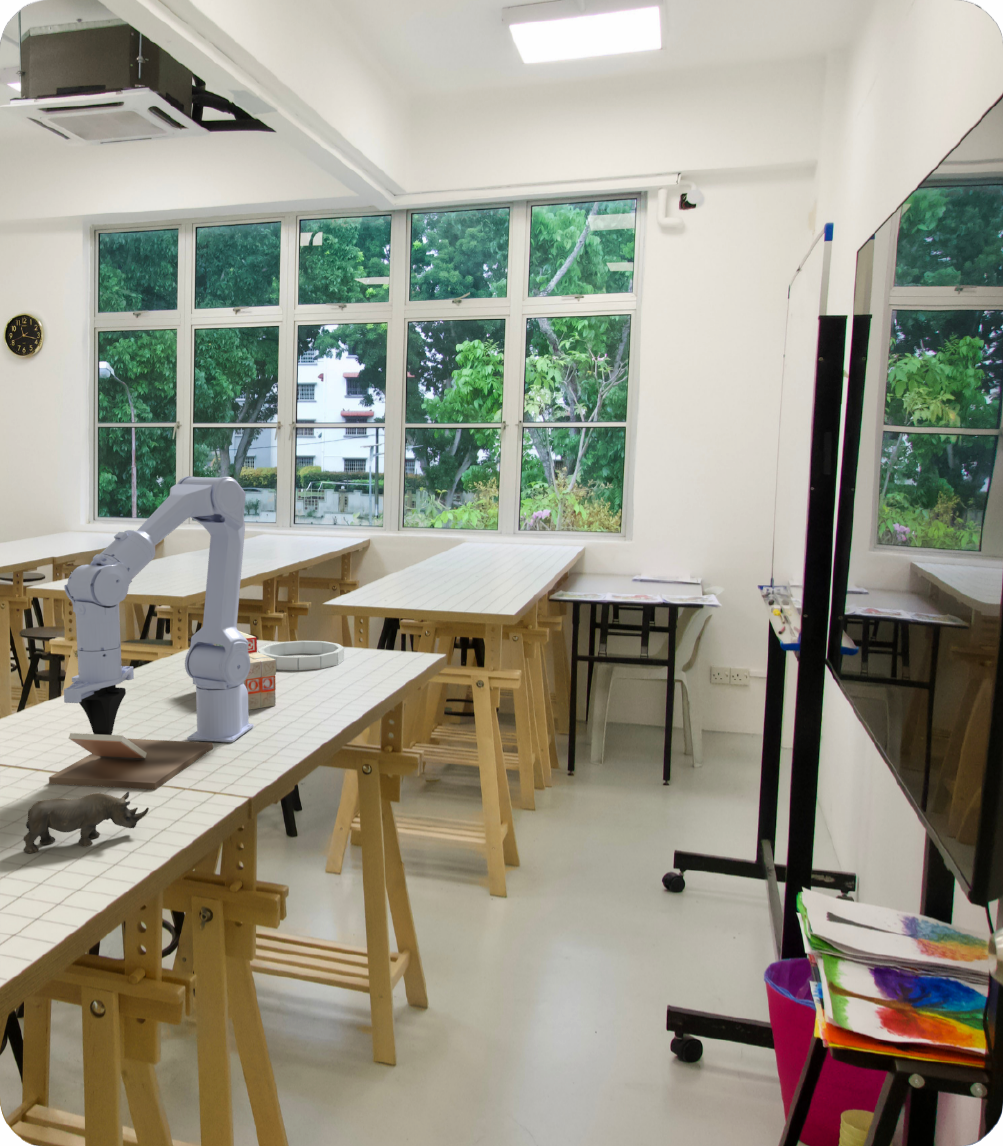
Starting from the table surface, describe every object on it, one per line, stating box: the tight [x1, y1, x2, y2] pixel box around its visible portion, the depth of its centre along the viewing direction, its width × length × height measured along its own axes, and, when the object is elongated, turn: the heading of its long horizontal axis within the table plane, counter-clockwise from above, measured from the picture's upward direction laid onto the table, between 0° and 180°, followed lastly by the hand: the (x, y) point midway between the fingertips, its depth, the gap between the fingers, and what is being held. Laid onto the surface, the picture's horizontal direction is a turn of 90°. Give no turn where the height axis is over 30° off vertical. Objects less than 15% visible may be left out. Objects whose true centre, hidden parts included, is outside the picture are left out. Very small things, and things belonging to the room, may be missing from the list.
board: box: [48, 738, 214, 791], centre depth 130 cm, size 18×16×2 cm
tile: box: [68, 732, 147, 758], centre depth 126 cm, size 8×8×1 cm
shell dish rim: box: [257, 640, 345, 671], centre depth 204 cm, size 20×20×3 cm
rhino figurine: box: [23, 791, 150, 854], centre depth 103 cm, size 4×14×6 cm, turn 113°
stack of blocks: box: [214, 630, 277, 711], centre depth 171 cm, size 21×6×12 cm, turn 38°
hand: (103, 738), depth 125 cm, fingers closed, pressing on tile
